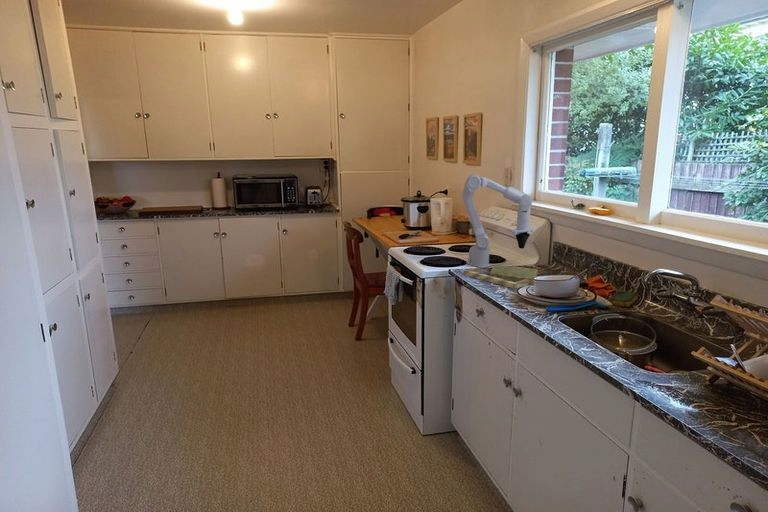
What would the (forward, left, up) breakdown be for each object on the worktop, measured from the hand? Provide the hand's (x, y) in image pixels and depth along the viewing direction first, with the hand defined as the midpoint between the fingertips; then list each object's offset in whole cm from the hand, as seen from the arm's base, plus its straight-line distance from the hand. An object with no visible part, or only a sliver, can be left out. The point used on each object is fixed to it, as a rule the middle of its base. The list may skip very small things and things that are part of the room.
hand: (521, 248), depth 226 cm
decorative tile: (+8, -17, -10) cm, 22 cm away
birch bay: (+6, -26, -9) cm, 28 cm away
